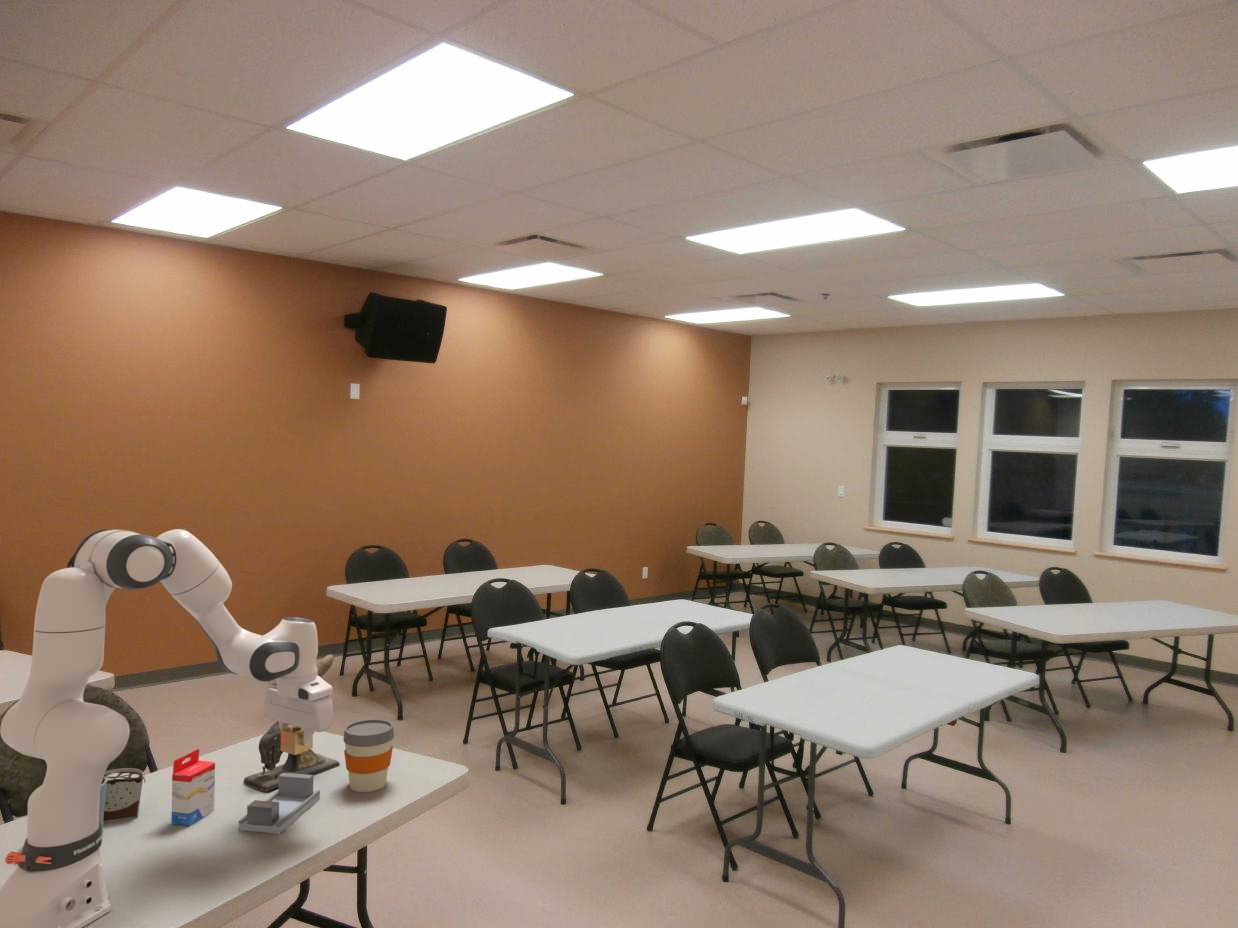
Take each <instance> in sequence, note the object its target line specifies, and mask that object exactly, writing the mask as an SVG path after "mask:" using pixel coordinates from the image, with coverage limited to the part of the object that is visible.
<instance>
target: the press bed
mask: <svg viewBox="0 0 1238 928" xmlns="http://www.w3.org/2000/svg"><path fill="white" fill-rule="evenodd" d="M319 800H321V790H319V789H318V790H317V789H316V790H315V791H314V775H306V774H293V773H282V774H281V775H279V777H278V787H277V791H275V792H274V793H273V794H271V795H270V796H269V797H268V798H267V799H265V800H264V801H272V802H279V820H278V821H276V822H275V823H274V824H273V825H272V826H271V825H260V824H248V823H247V814H246V815H245V816H243V817H241V818H240V820H238V831H244V832H245V831H246V832H258V833H268V834H278V835H279V834H281V833H282V832H284V831H285V830H286V829H287V828H288V827H289V826H290V825H292V823H294V822H295V821H296V820H298V818H300V817H301V816H302V815H303V814H304V813H306V812H307V811H308V810H309V809H310V808H311V807H312V806H313V805H315V804H316V803H317V802H318V801H319Z"/></svg>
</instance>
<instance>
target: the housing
mask: <svg viewBox="0 0 1238 928" xmlns="http://www.w3.org/2000/svg"><path fill="white" fill-rule="evenodd" d="M304 736H305V733H304V728H301V727H297V726H293V725H290V726H289V727H288V728H285V729H282V730H281V751H283V753H286V754H288V753H289V754H293V755H297V754H299V753H302V752H304V751H307V750H309V749H311V750H313V747H314V746H313V745H314V743H313V742H314V740H313V739H314V735H313V736H312V737H311V744H310V745H309V746H307V747H306V746H302V745H301V738H304Z"/></svg>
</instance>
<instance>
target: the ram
mask: <svg viewBox="0 0 1238 928" xmlns="http://www.w3.org/2000/svg"><path fill="white" fill-rule="evenodd" d="M246 807H247V808H246V815H247V823H248V824H260V825H271V826H272V825H273V824H274V823H275V822H276V821H278V820H279V802H272V801H265V800H260V799H259V800H257V799H255V800H253V801H252V802H250V803H249V804H248V805H247V806H246Z"/></svg>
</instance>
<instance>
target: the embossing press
mask: <svg viewBox="0 0 1238 928" xmlns="http://www.w3.org/2000/svg"><path fill="white" fill-rule="evenodd" d="M334 660H335V657H334V654H332V653H329V654H327V655H326V656H325V657H323V658H322V659H320V661H319V662H318V664H316V666H317V676H320V677H321V678H322V677H323V676H324V675H325V674H326V673H328V671H329V670H330V668H331V667H332V666H333V663H334ZM258 751H259V754H260V762H261V764H264V766H262V767H261V768H262V771H259V772H257V773H253V774H250V775H248V776H246V777H244V778H243V784H244V785H247V786H250V787H252V788H254V789H257V790H262V791H264V792H269V791H272V790H275V789H278V777H279V775H281V774H282V773H293V774H306V775H313V776H314V775H316V774H320V773H324V772H325V770H326V771H328V770H331V769H333V768H336V767H338V766H337V765H339V766H340V764H341V763H340V762H339V761H338V760H336V759H333V758H330V757H327V756H324V755H323V754H319V753H315V751H313V749H309V750H307V751H304V752H302V753H299V754H297V755H293V754H289V753H287V758H286V760H285V762H284V764H281V765H278V766H276V765H277V764H278V763H280V759H281V757H282V755H283V753H284V752H283V751H281V730H280V727H279V722H278V721H275V722H274V723H273V724H272V725H271V726H270V728H269V729H268V731H267V732H266V733H264V734H263V735H262V737H261V738H260V740H259V742H258ZM335 766H336V767H335ZM330 768H331V769H330Z"/></svg>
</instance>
